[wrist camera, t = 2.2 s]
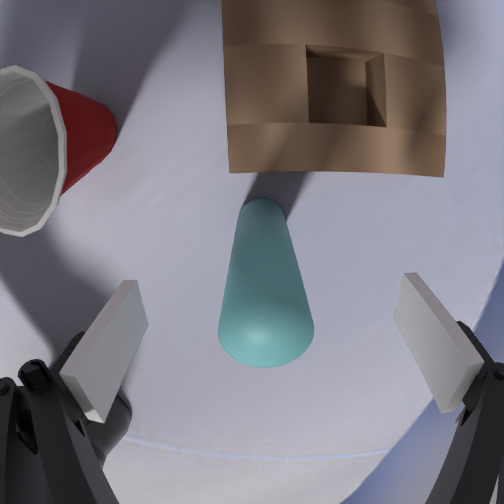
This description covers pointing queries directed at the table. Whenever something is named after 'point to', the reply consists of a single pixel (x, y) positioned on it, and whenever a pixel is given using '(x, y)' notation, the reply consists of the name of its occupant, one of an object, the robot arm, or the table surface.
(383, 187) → the table surface
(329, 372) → the table surface
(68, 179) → the plastic cup
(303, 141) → the bore block
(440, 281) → the table surface
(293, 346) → the teal peg
